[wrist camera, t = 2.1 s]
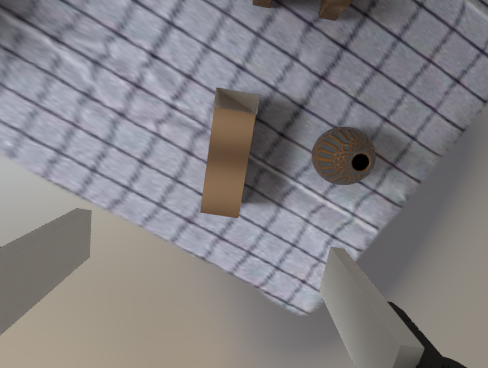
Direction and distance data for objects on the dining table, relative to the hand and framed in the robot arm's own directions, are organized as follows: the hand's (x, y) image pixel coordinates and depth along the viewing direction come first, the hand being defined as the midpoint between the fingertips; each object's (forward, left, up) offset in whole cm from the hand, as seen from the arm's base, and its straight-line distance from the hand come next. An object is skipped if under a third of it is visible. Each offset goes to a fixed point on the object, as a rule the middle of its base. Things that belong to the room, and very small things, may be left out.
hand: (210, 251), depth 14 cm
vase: (+13, +5, -22) cm, 27 cm away
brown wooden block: (0, +3, -22) cm, 22 cm away
